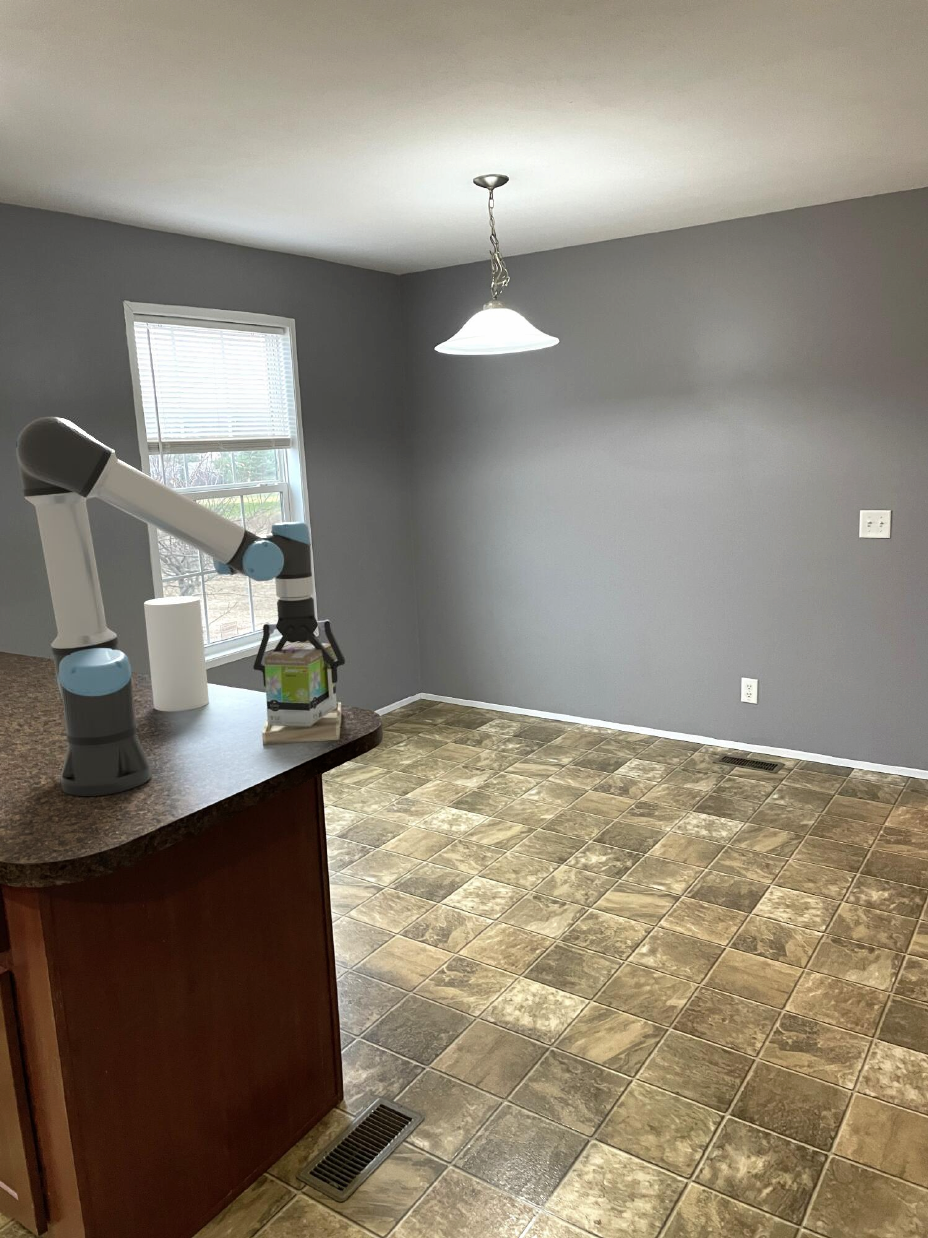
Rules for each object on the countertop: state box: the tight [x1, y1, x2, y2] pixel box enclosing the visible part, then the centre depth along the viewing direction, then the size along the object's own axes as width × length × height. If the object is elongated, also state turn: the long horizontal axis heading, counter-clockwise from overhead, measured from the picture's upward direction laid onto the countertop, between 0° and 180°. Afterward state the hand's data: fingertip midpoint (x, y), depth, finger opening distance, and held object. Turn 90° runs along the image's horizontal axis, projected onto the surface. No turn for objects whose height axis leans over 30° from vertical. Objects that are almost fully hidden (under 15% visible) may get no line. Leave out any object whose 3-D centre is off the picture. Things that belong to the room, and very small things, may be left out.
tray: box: [261, 701, 343, 746], centre depth 197 cm, size 20×15×2 cm
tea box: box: [263, 642, 337, 727], centre depth 195 cm, size 15×10×15 cm, turn 168°
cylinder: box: [143, 595, 210, 712], centre depth 219 cm, size 12×12×25 cm
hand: (302, 700), depth 196 cm, fingers closed on tea box, 11 cm apart
